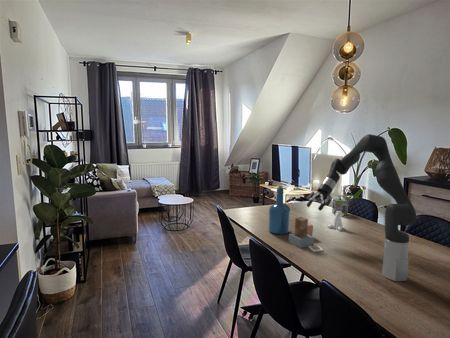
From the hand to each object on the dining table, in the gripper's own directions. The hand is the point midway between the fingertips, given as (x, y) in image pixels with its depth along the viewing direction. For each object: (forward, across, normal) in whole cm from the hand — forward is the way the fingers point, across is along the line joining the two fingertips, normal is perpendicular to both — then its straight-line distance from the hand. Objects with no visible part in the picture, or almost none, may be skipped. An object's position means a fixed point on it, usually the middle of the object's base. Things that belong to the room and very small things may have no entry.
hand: (313, 208), depth 177 cm
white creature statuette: (-9, -6, +37) cm, 38 cm away
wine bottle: (+18, -22, +10) cm, 30 cm away
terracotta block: (+12, -6, +15) cm, 21 cm away
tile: (+20, +10, +8) cm, 24 cm away
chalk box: (-31, -26, +59) cm, 72 cm away
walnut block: (+17, 0, +4) cm, 18 cm away
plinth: (+21, 0, +8) cm, 22 cm away
